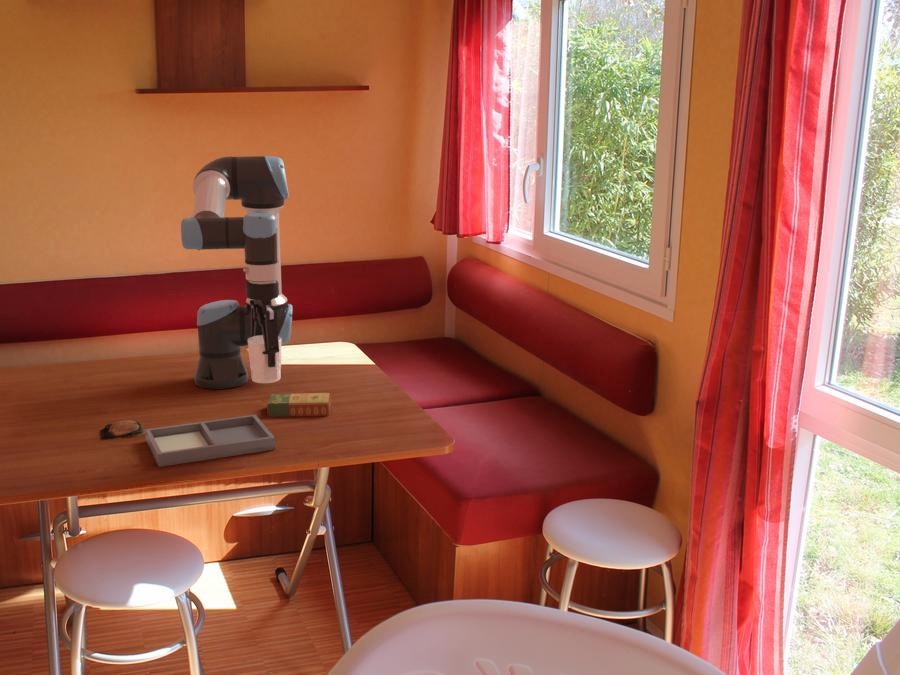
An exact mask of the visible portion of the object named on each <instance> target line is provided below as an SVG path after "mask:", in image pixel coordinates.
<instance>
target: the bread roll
mask: <svg viewBox="0 0 900 675" xmlns="http://www.w3.org/2000/svg"><path fill="white" fill-rule="evenodd" d="M143 425H144V424H143ZM143 425H142V424H141V423H140V422H138V421H135V420H130V419H129V420H128V419H126V420H119V421H115V422H113V423H108V424H107V425H105V426H104V428H102V429H100V430H99V432H100V434H99V435H100V439H102V440H106V441H111V440H119V439H126V438H134V437H138V436H139V437H140V436H143V435H144V436H146V435H145V426H143Z"/></svg>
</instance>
